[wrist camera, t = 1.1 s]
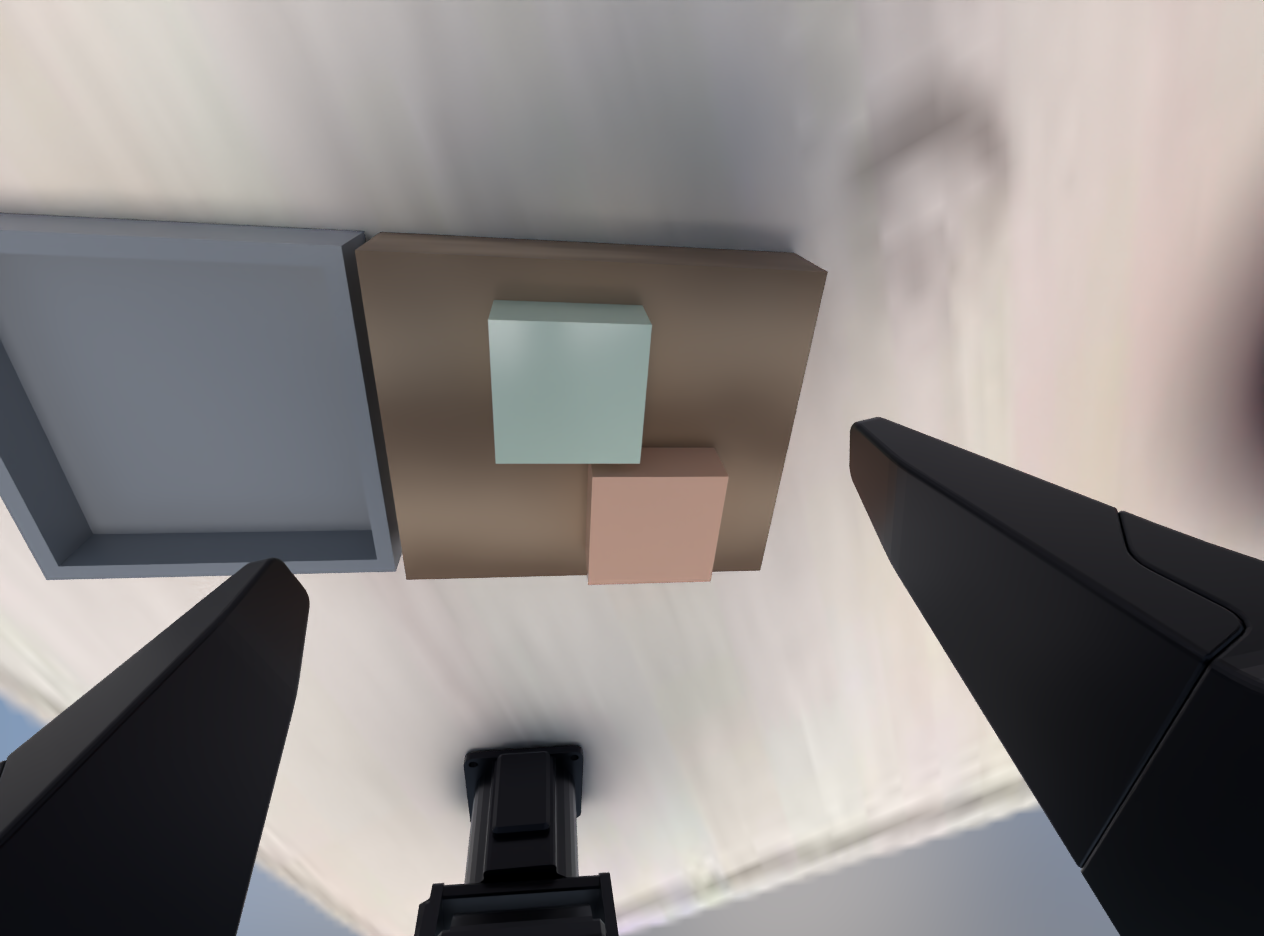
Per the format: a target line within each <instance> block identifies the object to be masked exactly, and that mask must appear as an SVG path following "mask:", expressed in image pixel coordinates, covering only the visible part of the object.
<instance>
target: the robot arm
mask: <svg viewBox="0 0 1264 936" xmlns="http://www.w3.org/2000/svg"><path fill="white" fill-rule="evenodd" d="M849 466H850V473H851V477H852V480H853V483H854V485H855V487H856V489H857V492H858V494H859V496H860V498H861V500H862V502H863V505H864V507H865V509H866V511H867V513H868V515H869V518H870V520H871V522H872V524H873V526H874V529H875V531H876V533H877V535H878V537H879V539H880V542H881V544H882V546H883V548H884V550H885V552H886V554H887V556H888V558H889V560H890V562H891V564H892V566H893V568H894V569H895V571H896V573H897V574H898V576H899V578H900V579H901V581H902V583H903V584H904V586H905V587H906V589H907V591H908V592H909V594H910V596H911V597H912V599H913V600H914V602H915V604H916V605H917V607H918V608H919V610H920V612H921V613H922V615H923V617H924V618H925V620H926V621H927V623H928V625H929V626H930V628H931V630H932V631H933V633H934V634H935V636H936V638H937V639H938V641H939V642H940V644H941V646H942V647H943V649H944V651H945V652H946V654H947V655H948V657H949V659H950V660H951V662H952V663H953V665H954V667H955V668H956V670H957V672H958V673H959V675H960V676H961V678H962V680H963V681H964V683H965V685H966V686H967V688H968V689H969V691H970V693H971V694H972V696H973V697H974V699H975V701H976V702H977V704H978V706H979V707H980V709H981V710H982V712H983V714H984V715H985V717H986V718H987V720H988V722H989V723H990V725H991V727H992V728H993V730H994V731H995V733H996V735H997V736H998V738H999V740H1000V741H1001V743H1002V744H1003V746H1004V748H1005V749H1006V751H1007V752H1008V754H1009V756H1010V757H1011V759H1012V761H1013V762H1014V764H1015V765H1016V767H1017V769H1018V770H1019V772H1020V774H1021V775H1022V777H1023V778H1024V780H1025V782H1026V783H1027V785H1028V786H1029V788H1030V790H1031V791H1032V793H1033V795H1034V796H1035V798H1036V799H1037V801H1038V803H1039V804H1040V806H1041V807H1042V809H1043V811H1044V812H1045V814H1046V816H1047V817H1048V819H1049V820H1050V822H1051V824H1052V825H1053V827H1054V828H1055V830H1056V832H1057V833H1058V835H1059V837H1060V838H1061V840H1062V841H1063V843H1064V845H1065V846H1066V848H1067V850H1068V851H1069V853H1070V854H1071V856H1072V858H1073V859H1074V861H1075V862H1076V864H1077V865H1078V866H1079V867H1080V868H1082V869H1081V873H1082V874H1083V876H1084V878H1085V879H1086V881H1087V883H1088V884H1089V886H1090V888H1091V889H1092V891H1093V892H1094V894H1095V895H1096V897H1097V899H1098V900H1099V902H1100V904H1101V905H1102V907H1103V909H1104V910H1105V912H1106V913H1107V915H1108V916H1109V918H1110V920H1111V922H1112V923H1113V925H1114V926H1115V928H1116V930H1117V931H1118V933H1119V934H1120V936H1264V561H1262V560H1259V559H1256V558H1253V557H1250V556H1247V555H1244V554H1241V553H1238V552H1235V551H1232V550H1229V549H1226V548H1223V547H1220V546H1217V545H1214V544H1211V543H1208V542H1205V541H1203V540H1200V539H1197V538H1194V537H1192V536H1189V535H1186V534H1184V533H1181V532H1178V531H1175V530H1173V529H1170V528H1167V527H1165V526H1162V525H1159V524H1156V523H1154V522H1151V521H1149V520H1146V519H1144V518H1141V517H1138V516H1136V515H1133V514H1131V513H1128V512H1125V511H1120V512H1118V511H1117V509H1116V508H1115V507H1112V506H1109V505H1107V504H1104V503H1102V502H1099V501H1097V500H1094V499H1091V498H1089V497H1086V496H1084V495H1081V494H1078V493H1076V492H1073V491H1071V490H1068V489H1065V488H1063V487H1060V486H1058V485H1055V484H1053V483H1050V482H1047V481H1045V480H1042V479H1040V478H1037V477H1034V476H1032V475H1029V474H1027V473H1024V472H1022V471H1019V470H1016V469H1014V468H1011V467H1009V466H1006V465H1003V464H1001V463H998V462H996V461H993V460H990V459H988V458H985V457H983V456H980V455H978V454H975V453H972V452H970V451H967V450H965V449H962V448H959V447H957V446H954V445H952V444H949V443H946V442H944V441H941V440H939V439H936V438H934V437H931V436H928V435H926V434H923V433H921V432H918V431H915V430H913V429H910V428H908V427H905V426H902V425H900V424H897V423H895V422H892V421H890V420H887V419H884V418H881V417H875V418H871V419H867V420H862V421H858V422H855V423H854V424H853V425H852V426H851V430H850V463H849ZM309 605H310V604H309V597H308V594H307V592H306V590H305V589H304V587H303V586H302V585H301V583H300V582H299V581H298V580H297V578H296V577H295V576H294V575H293V573H292V572H291V571H290V569H289V568H288V567H287V566H286V564H285V563H284V562H283V561H282V560H280V559H278V558H275V557H271V558H266V559H262V560H258V561H253V562H250V563H248V564H246V565H245V566H243V567H242V568H241V569H240V570H238V571H237V572H236V573H235V574H234V575H232V576H231V577H230V578H229V579H227V580H226V581H225V582H224V583H222V584H221V585H220V586H219V587H217V588H216V589H215V590H214V591H212V592H211V593H210V594H209V595H207V596H206V597H205V598H204V599H202V600H201V601H200V602H199V603H197V604H196V605H195V606H194V607H193V608H191V609H190V610H189V611H188V612H186V613H185V614H184V615H183V616H181V617H180V618H179V619H178V620H176V621H175V622H174V623H173V624H171V625H170V626H169V627H168V628H166V629H165V630H164V631H163V632H161V633H160V634H159V635H158V636H156V637H155V638H154V639H153V640H152V641H150V642H149V643H148V644H147V645H145V646H144V647H143V648H142V649H140V650H139V651H138V652H137V653H135V654H134V655H133V656H132V657H130V658H129V659H128V660H127V661H125V662H124V663H123V664H122V665H120V666H119V667H118V668H117V669H115V670H114V671H113V672H112V673H111V674H109V675H108V676H107V677H106V678H104V679H103V680H102V681H101V682H99V683H98V684H97V685H96V686H94V687H93V688H92V689H91V690H89V691H88V692H87V693H86V694H84V695H83V696H82V697H81V698H79V699H78V700H77V701H76V702H74V703H73V704H72V705H71V706H70V707H68V708H67V709H66V710H65V711H63V712H62V713H61V714H60V715H58V716H57V717H56V718H55V719H53V720H52V721H51V722H50V723H48V724H47V725H46V726H45V727H43V728H42V729H41V730H40V731H38V732H37V733H36V734H35V735H33V736H32V737H31V738H30V739H29V740H27V741H26V742H25V743H24V744H22V745H21V746H20V747H19V748H17V749H16V750H15V751H14V752H13V753H11V754H10V755H9V756H8V758H7V760H6V761H2V762H0V936H236V934H237V930H238V926H239V922H240V918H241V914H242V910H243V907H244V902H245V899H246V895H247V891H248V887H249V882H250V878H251V875H252V871H253V867H254V863H255V859H256V855H257V851H258V847H259V843H260V839H261V835H262V832H263V828H264V824H265V820H266V816H267V812H268V808H269V804H270V800H271V796H272V792H273V788H274V784H275V780H276V776H277V772H278V768H279V764H280V760H281V757H282V753H283V749H284V745H285V741H286V737H287V733H288V729H289V725H290V721H291V717H292V713H293V709H294V705H295V700H296V696H297V690H298V684H299V678H300V671H301V664H302V657H303V650H304V643H305V635H306V628H307V621H308V614H309ZM464 771H465V780H466V788H467V797H468V805H469V813H470V822H471V828H470V837H469V847H468V856H467V865H466V874H465V883H464V884H455V885H444V883H437V884H433V885H432V890H431V895H430V898H429V899H428V900H426V901H425V902H423V903H421V904H420V905H419V910H418V916H417V922H416V928H415V934H414V936H619V935H618V928H617V921H616V914H615V907H614V900H613V893H612V886H611V879H610V873H609V872H608V873H599V875H594V876H579V872H578V847H577V821H576V818H577V817H579V816H580V814H581V798H582V776H583V749H582V748H581V747H580V746H561V747H545V748H530V749H515V750H499V751H484V752H472V753H469V754H467V755H466V756H465V760H464Z"/></svg>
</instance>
